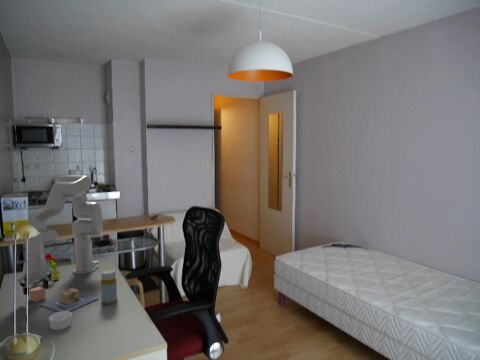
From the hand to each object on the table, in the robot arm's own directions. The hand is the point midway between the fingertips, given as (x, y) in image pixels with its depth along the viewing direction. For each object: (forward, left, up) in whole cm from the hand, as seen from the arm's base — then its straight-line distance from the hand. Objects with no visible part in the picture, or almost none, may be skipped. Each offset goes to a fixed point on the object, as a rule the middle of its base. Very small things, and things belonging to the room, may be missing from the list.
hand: (36, 291), depth 176 cm
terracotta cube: (-1, 0, -4) cm, 4 cm away
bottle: (-16, +34, -4) cm, 37 cm away
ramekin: (+10, +35, -4) cm, 37 cm away
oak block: (-6, +18, -3) cm, 19 cm away
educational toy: (-20, -21, -4) cm, 29 cm away
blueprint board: (-6, +18, -4) cm, 19 cm away
